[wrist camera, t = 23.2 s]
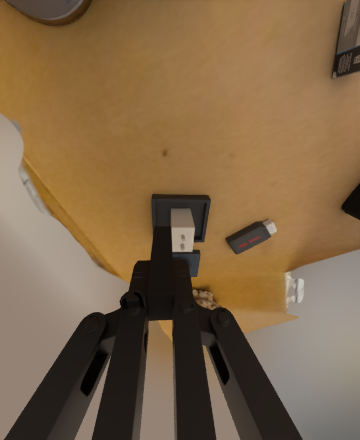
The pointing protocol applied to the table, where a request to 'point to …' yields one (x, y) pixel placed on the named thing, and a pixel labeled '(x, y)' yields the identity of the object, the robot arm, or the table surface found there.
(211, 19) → the table surface
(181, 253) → the switch block
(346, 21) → the label tape box
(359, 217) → the film camera
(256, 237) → the usb drive
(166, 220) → the cradle
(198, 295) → the mineral formation
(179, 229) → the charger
